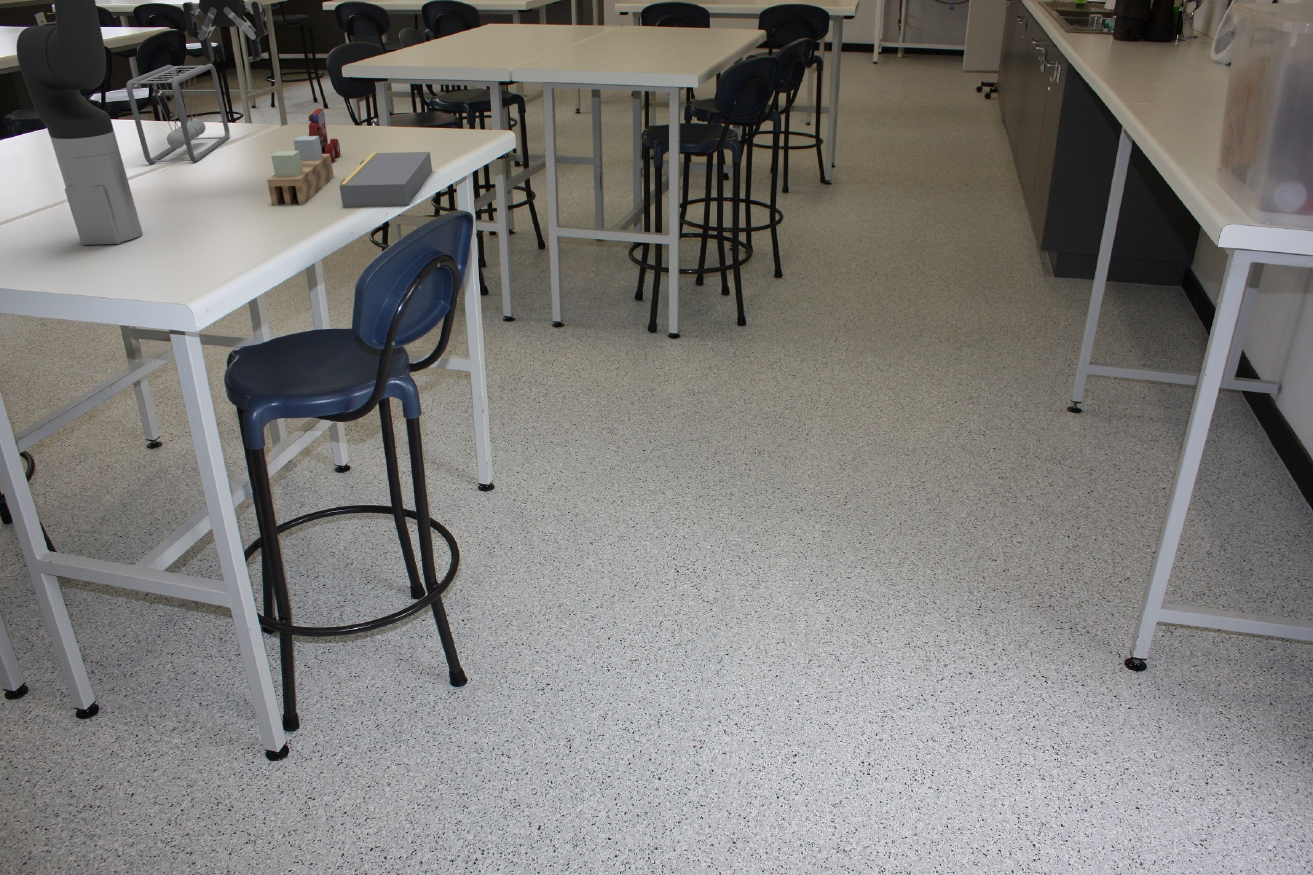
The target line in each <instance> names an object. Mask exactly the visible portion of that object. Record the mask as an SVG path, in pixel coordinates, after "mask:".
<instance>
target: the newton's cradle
mask: <svg viewBox="0 0 1313 875" xmlns="http://www.w3.org/2000/svg"><path fill="white" fill-rule="evenodd" d="M190 68H191V69H190ZM178 69H184V71H185V72H182V73H180V74H177V70H178ZM209 70H210V72H211V76H212V80H213V81H212V82H213V85H214V90H215V94H216V98H217V102H218V107H219V112H220V117H221V120H222V126H223V130H224V135H223V136H212V137H211V136H209V137H200V136H201V135H203V134H204V133H205V132H206V124H205V122H203V121H202V120H201V119H200V118H198V115H197V110H195V117H194V116H193V113H192V110H191V108H190V107H192V96H191V91H189V101H190V102H189V103H190V106H189V104H188V102H187V100H186V96H185V94H184V93H186V81H187V80H189V82H188V83H189V87H191V79H192V78H193V80H194V85H196V76H198V75H200V74H202V73H204V72H207V71H209ZM163 75H164V76H165V77H164V76H163ZM158 77H161V79H162V80H159V78H158ZM165 78H168V79H167V80H165ZM152 80H153V81H152ZM181 83H183V86H184V87H183V89H184V93H183V90H182V89H181V86H180V84H181ZM137 84H138V85H139V84H141V85H143V84H144V85H145V84H151V86H152V89H153V91H154V94H155V95H156V99H157V101H158V103H159V105H160V107H161V109H162V112H163V114H164V116H165V119H166V121H167V123H168V126H169V128H170V130H171V131H170V132H169V133H168V134H167V136H166V141H167V144H168V145H169V147H168V148H166V149H164V150H162V151H161V152H160V153H158V154H157V155H155V156H153V157H151V156H150V151H149V148H148V144H147V140H146V136H145V132H144V128H143V124H142V122H141V118H140V117H141V116H140V113H139V110H138V104H137V101H136V99H135V95H134V91H133V86H135V85H137ZM153 84H158V86H159V89H160V91H161V93H162V95H163V98H164V100H165V102H166V104H167V107H168V109H169V111H170V113H171V116H172V118H173V120H174V129H172V126H171V124H170V121H169V120H168V117H167V115H166V112H165V111H164V108H163V105H162V103H161V101H160V99H159V96H158V94H157V93H156V92H157V91H156V90H155V88H154V85H153ZM160 84H164V85H165V87H166V89H167V91H168V94H169V95H170V98H171V100H172V102H173V112H172V109H171V107H170V104H169V103H168V100H167V99H166V98H167V97H166V96H165V94H164V91H163V90H162V87H161V85H160ZM167 84H171V89H172V93H173V94H171V93H170V90H169V87H168V85H167ZM196 91H197V90H196V89H194V100H195V101H194V102H195V106H197V95H196V94H197V93H196ZM126 93H127V97H128V101H129V104H130V109H131V111H132V115H133V120H134V123H135V127H136V130H137V134H138V139H139V142H140V145H141V149H142V153H143V157H144V159H145V161H146V162H147V164H149V165H154V164H155V163H171V162H172V163H175V162H192V163H194V164H195V163H198V162H200V161H201V160H202V159H203V158H205V157H206V156H207V155H209V154H210V153H211V152H213V151H214V150H216V149H217V148H219V147H220V146H221V145H223V144H224V143H225V142H227V141H228V140H229V139H230V136H231V134H230V132H231V131H230V127H229V122H228V118H227V114H226V110H225V105H224V100H223V96H222V90H221V86H220V83H219V77H218V74H217V70H216V67H215V65H213V64H212V63H207V64H206V65H205V64H204V65H203V64H202V65H178V66H177V65H175V66H173V65H172V64H166V65H165V66H162V67H160V68H157V69H154V70H152V71H150V72H147V73H145V74H142V75H139V76H137V77H134V78H131V79H130V80H128V81H127V83H126ZM172 95H173V97H172ZM183 98H184V100H183ZM187 108H188V110H189V113H190V120H189V119H188V115H187ZM176 111H177V114H178V118H179V122H180V126H178V124H177V121H176ZM173 113H174V115H173ZM176 127H177V128H176ZM193 140H216V141H215V142H213V143H212V144H211V145H209V146H207V148H205V149H203V150H202V151H201V152H199V153H198V154H197V155H195V153H194V149H193V145H192V141H193ZM184 145H185V146H186V150H187V155H188V157H189V158H187V159H185V158H184V159H164V158H165V157H166V156H168V155H170V154H171V153H173V152H174V151H175V150H177V149H182V148H183V147H184ZM161 159H163V160H161Z"/></svg>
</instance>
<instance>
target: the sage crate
mask: <svg viewBox="0 0 1313 875" xmlns="http://www.w3.org/2000/svg"><path fill="white" fill-rule="evenodd" d="M271 161H272V165H273V171H274V174H275V177H298V176H299V175H300V174H301V173H303V169H302V163H301V158H300V153H299V151H295V150H278V151H276V152H274V153H273V154H271Z"/></svg>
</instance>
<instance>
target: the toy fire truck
mask: <svg viewBox="0 0 1313 875" xmlns="http://www.w3.org/2000/svg"><path fill="white" fill-rule="evenodd" d="M324 111H325V110H324V109H323V108H316V109H315V110H314V111H313V112H312V113H311V114H309V115H308V122H310V123H309V124H308V136H319V139H320V145H321V150H322V154H330V157H331V163H334V162H335V161H336V158H339V157H340V156H341V146H340V142H339V139H338V138H330V140H328V133H327V126H326V117H325V116H326V115H325V112H324Z"/></svg>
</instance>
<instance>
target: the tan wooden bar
mask: <svg viewBox="0 0 1313 875" xmlns="http://www.w3.org/2000/svg"><path fill="white" fill-rule="evenodd" d="M301 163H302V169H303V173H301V174H300V175H299V176H298V177H275V173H274V174H273V175H272V176H270V177H269V178H268V179H267V180H266V181H267V186H268V191H269V196H270V201H271V205H272V206H279V204H281V203H282V202H283V201H284V204H285V205H286V206H291V205H293V204H294V202H296V201H298V205H302V206H303V205H305V204H306V203H308V202H309V201H310V200H311V199H312V198H313V197H314V196H315V195H317V194H318V193H319V192H320V190H322V189H323V188H324V187H325V186H326V185H327V184H328V183H329V182H330V181H331V180H333V179H334V178H335V175H334V168H333V162H331V157H330V154H322V157H321V158H320V159H318V160H313V161H301Z"/></svg>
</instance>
